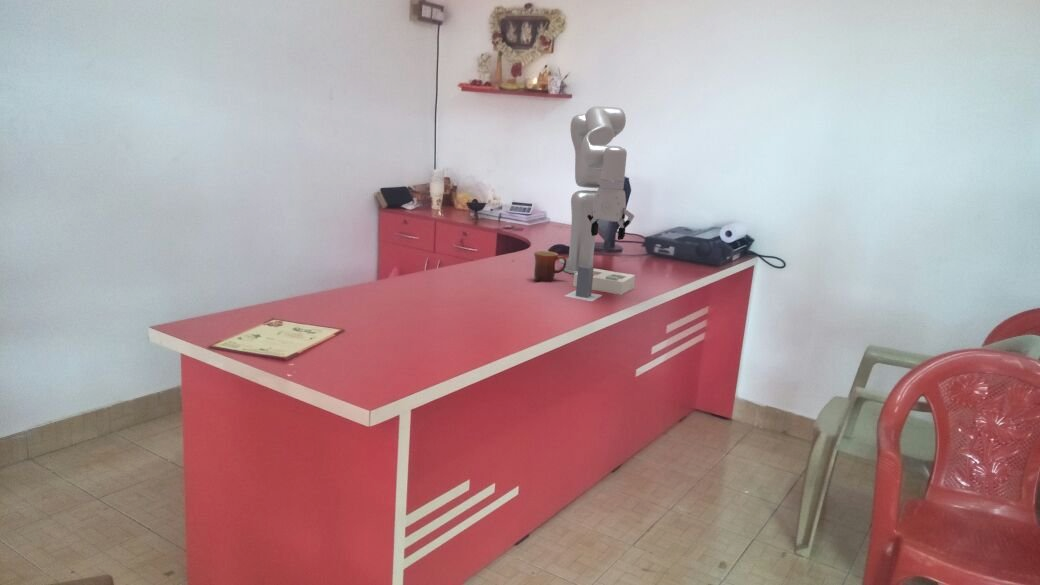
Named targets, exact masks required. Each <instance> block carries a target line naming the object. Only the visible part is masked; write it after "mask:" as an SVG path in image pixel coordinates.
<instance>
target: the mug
mask: <svg viewBox="0 0 1040 585" xmlns="http://www.w3.org/2000/svg"><path fill="white" fill-rule="evenodd" d="M533 256H534V261H535V262H534V272H533V275H534V276H533V278H534V281H535V282H538V283H540V282H541V283H544V282H545V283H547V282H553V281H554V280H555V276H556V274H559V273H562V272H563V271H564V269H565V267H566V259H567V258H566V257H565V256H564V255H563V256H562V255H559V254H558V253H557V252H555V251H548V250H536V251H534V252H533ZM559 259H563V260H564V264H562V265H563V266H562V267H561V268H560V269H556V261H559Z"/></svg>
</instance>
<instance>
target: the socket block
mask: <svg viewBox="0 0 1040 585" xmlns="http://www.w3.org/2000/svg"><path fill="white" fill-rule="evenodd" d="M577 275H578V273H575V274H573V283H572V284H573V287H575V288H576V287H577ZM635 282H636V274H630V273H623V272H620V271H619V272H617V271H612V270H606V269H599V268H595V267H594V270H593V281H592V291H597V292H604V293H607V294H614V295H620V296H623V295H624V294H625V293H627V292H629V291H630V290H634V289H635Z"/></svg>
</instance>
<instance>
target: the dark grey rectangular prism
mask: <svg viewBox="0 0 1040 585" xmlns="http://www.w3.org/2000/svg"><path fill="white" fill-rule="evenodd" d="M594 268H595V267H594V266H587V265H581V266H579V267H578V275H577V287H575V290H576V296H579V297H585V298H587V297H589V296H591V293H592V291H593V290H592V281H593V270H594Z"/></svg>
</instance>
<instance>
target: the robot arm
mask: <svg viewBox="0 0 1040 585" xmlns="http://www.w3.org/2000/svg"><path fill="white" fill-rule="evenodd" d="M626 119H627V118H626V113H625V111H624V110H623V109H622V108H620V107H614V106H612V107H611V106H597V105H596V106H593V107H590V108H588V110H587V111H586V112H585V113H580V114H576V115H574V116H573V117H572V118H571V121H570V137H571V142H572V145H573V148H574V153H575V154H574V158H575V159H574V161H575V162H574V163H575V164H574V173H575V174H574V179H575V184H576V185H577V186H578V187H579V188H585V190H583V189H581V190H578V191H574V193H573V194H572V195H571V199H570V207H571V224H570V226H571V227H570V239H569V249H568V250H569V251H568V254H569V255H568V258H566V267H565V269H564V270H563V271H564V272H565V273H568V274H571V275H574V274H575V273H578V267H579V266H581V265H587V266H593V265H594V255H595V254H594V252H595V243H596V236H598V233H599V223H598V222H599V221H600V220H601V221H605V222H607V221H608V222H615V223H616V222H617V224H618V225H619V228H618V231H617V240H618V241H621V240H624V239H625V237H626V236H625V235H626V229H627V227H628V226H629V225H630V224H631V223H632V221H633V220H634V218H635V215H634V214H633V213H631V212H630V211H628V210H627V200H626V191H625V190H624V185H625V177H626V164H627V154H628V152H627V150H626V149H625V148H623V147H621V146H617V145H608V144H610V143H611V142H612V140H613V139H614V138H616V137H617V136H618V135H619V134H621V133H622V132H623V131H624V128H625V127H626V121H627V120H626ZM586 188H587V189H590V188H591V189H597V190H587V189H586ZM626 217H627V220H625V219H626ZM558 263H559V264H560V265H564V260H563V259H558ZM593 267H594V266H593Z"/></svg>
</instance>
